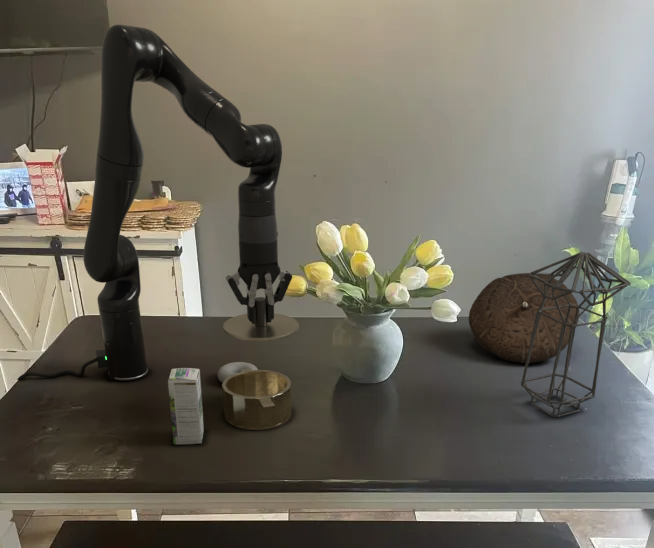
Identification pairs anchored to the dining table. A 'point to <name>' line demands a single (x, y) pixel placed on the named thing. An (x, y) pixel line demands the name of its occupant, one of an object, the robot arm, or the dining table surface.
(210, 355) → the dining table surface
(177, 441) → the syrup box
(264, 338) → the lid
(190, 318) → the dining table surface
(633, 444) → the dining table surface
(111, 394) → the dining table surface
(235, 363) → the donut
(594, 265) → the geometric lantern
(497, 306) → the brown fungus
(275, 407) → the pot
